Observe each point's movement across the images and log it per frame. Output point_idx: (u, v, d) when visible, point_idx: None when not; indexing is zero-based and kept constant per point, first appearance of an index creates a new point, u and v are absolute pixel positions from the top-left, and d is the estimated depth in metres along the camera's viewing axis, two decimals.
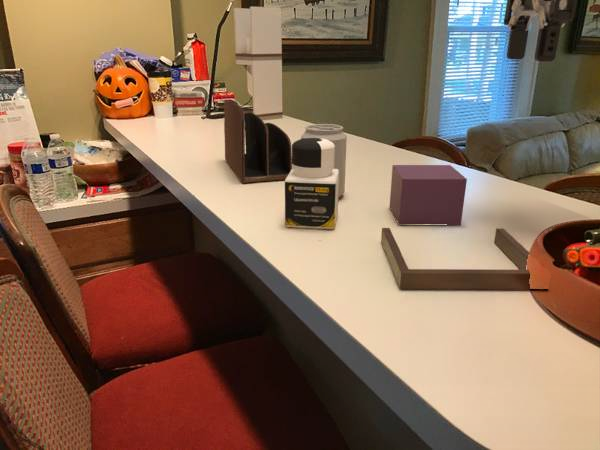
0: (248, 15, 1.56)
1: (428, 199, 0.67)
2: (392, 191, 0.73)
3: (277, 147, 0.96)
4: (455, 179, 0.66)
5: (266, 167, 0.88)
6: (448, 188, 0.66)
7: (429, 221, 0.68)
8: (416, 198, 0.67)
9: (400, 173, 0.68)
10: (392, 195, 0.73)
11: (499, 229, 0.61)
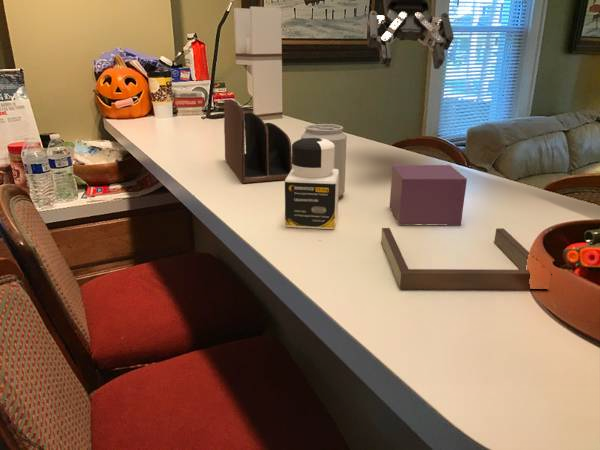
0: (248, 15, 1.56)
1: (428, 199, 0.67)
2: (392, 191, 0.73)
3: (277, 147, 0.96)
4: (455, 179, 0.66)
5: (266, 167, 0.88)
6: (448, 188, 0.66)
7: (429, 221, 0.68)
8: (416, 198, 0.67)
9: (400, 173, 0.68)
10: (392, 195, 0.73)
11: (499, 229, 0.61)
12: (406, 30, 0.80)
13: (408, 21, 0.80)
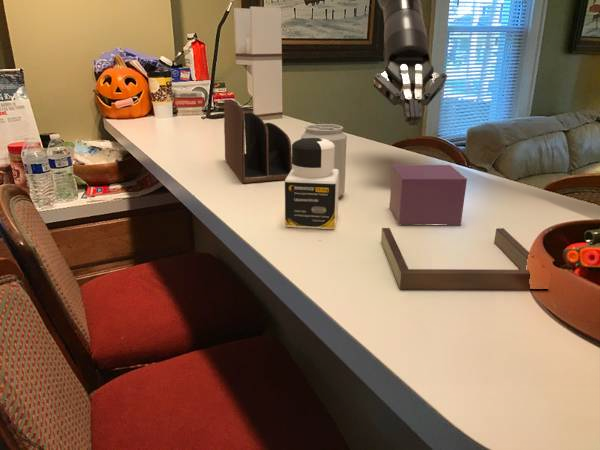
0: (248, 15, 1.56)
1: (428, 199, 0.67)
2: (392, 191, 0.73)
3: (277, 147, 0.96)
4: (455, 179, 0.66)
5: (266, 167, 0.88)
6: (448, 188, 0.66)
7: (429, 221, 0.68)
8: (416, 198, 0.67)
9: (400, 173, 0.68)
10: (392, 195, 0.73)
11: (499, 229, 0.61)
12: None
13: (408, 73, 0.81)
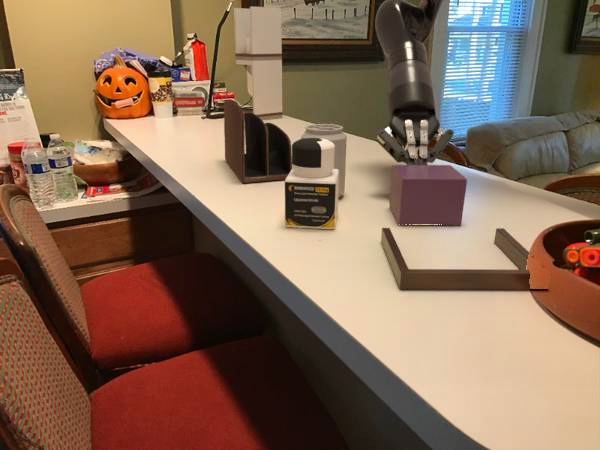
0: (248, 15, 1.56)
1: (428, 199, 0.67)
2: (392, 191, 0.73)
3: (277, 147, 0.96)
4: (455, 179, 0.66)
5: (266, 167, 0.88)
6: (448, 188, 0.66)
7: (429, 221, 0.68)
8: (416, 199, 0.67)
9: (400, 173, 0.68)
10: (392, 195, 0.73)
11: (499, 229, 0.61)
12: None
13: (413, 129, 0.77)
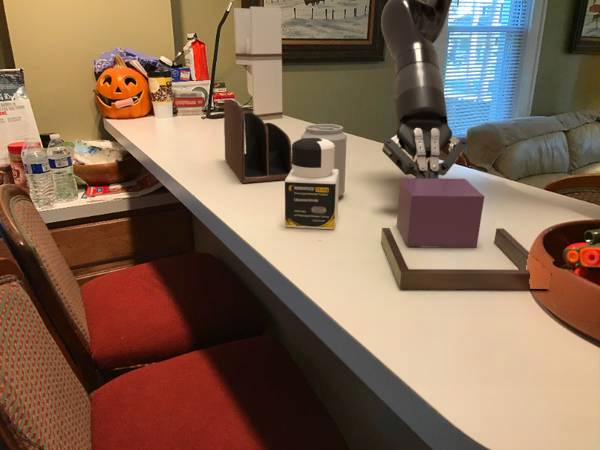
0: (248, 15, 1.56)
1: (440, 218, 0.59)
2: (400, 207, 0.66)
3: (277, 147, 0.96)
4: (471, 196, 0.58)
5: (266, 167, 0.88)
6: (463, 206, 0.59)
7: (441, 242, 0.61)
8: (427, 217, 0.59)
9: (409, 188, 0.61)
10: (400, 212, 0.66)
11: (499, 229, 0.61)
12: None
13: (423, 138, 0.70)
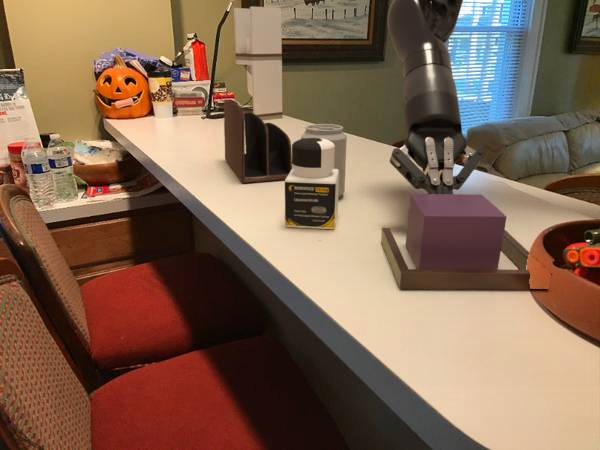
0: (248, 15, 1.56)
1: (456, 241, 0.53)
2: (409, 226, 0.59)
3: (277, 147, 0.96)
4: (491, 217, 0.52)
5: (266, 167, 0.88)
6: (482, 228, 0.52)
7: (457, 268, 0.54)
8: (441, 240, 0.53)
9: (421, 207, 0.54)
10: (409, 231, 0.59)
11: None
12: None
13: (435, 148, 0.63)
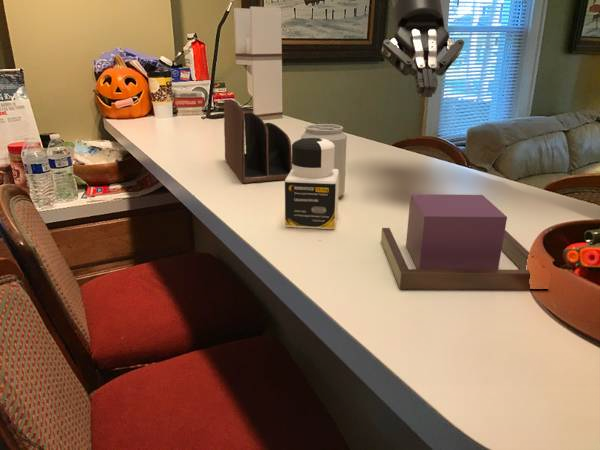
0: (248, 15, 1.56)
1: (456, 241, 0.53)
2: (410, 227, 0.59)
3: (277, 147, 0.96)
4: (492, 217, 0.51)
5: (266, 167, 0.88)
6: (482, 228, 0.52)
7: (457, 268, 0.54)
8: (441, 240, 0.53)
9: (421, 207, 0.54)
10: (410, 232, 0.59)
11: None
12: None
13: (420, 39, 0.72)
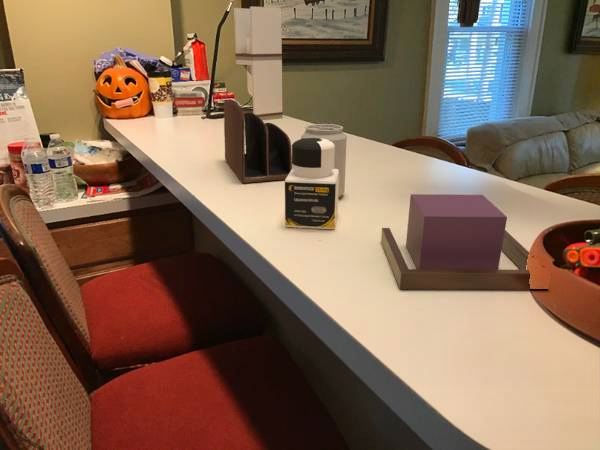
0: (248, 15, 1.56)
1: (456, 241, 0.53)
2: (410, 227, 0.59)
3: (277, 147, 0.96)
4: (492, 217, 0.51)
5: (266, 167, 0.88)
6: (482, 228, 0.52)
7: (457, 268, 0.54)
8: (441, 240, 0.53)
9: (421, 207, 0.54)
10: (410, 232, 0.59)
11: None
12: None
13: None
